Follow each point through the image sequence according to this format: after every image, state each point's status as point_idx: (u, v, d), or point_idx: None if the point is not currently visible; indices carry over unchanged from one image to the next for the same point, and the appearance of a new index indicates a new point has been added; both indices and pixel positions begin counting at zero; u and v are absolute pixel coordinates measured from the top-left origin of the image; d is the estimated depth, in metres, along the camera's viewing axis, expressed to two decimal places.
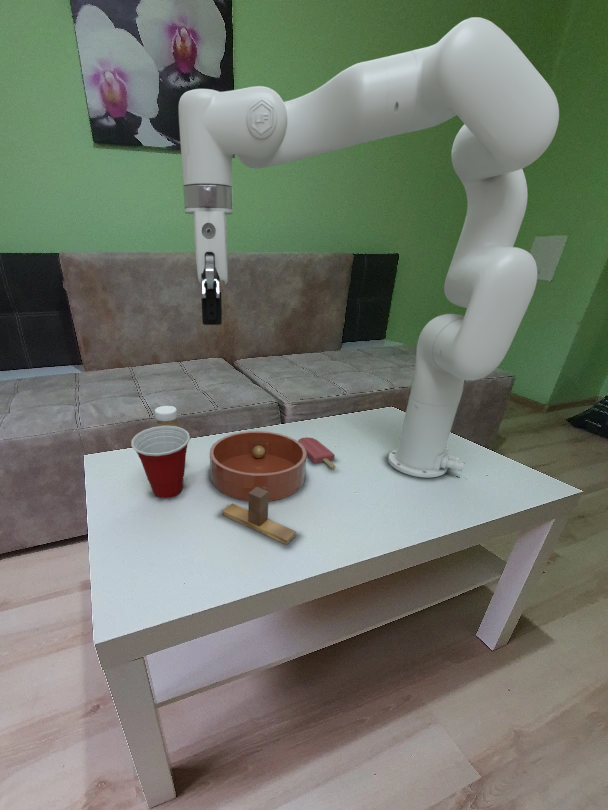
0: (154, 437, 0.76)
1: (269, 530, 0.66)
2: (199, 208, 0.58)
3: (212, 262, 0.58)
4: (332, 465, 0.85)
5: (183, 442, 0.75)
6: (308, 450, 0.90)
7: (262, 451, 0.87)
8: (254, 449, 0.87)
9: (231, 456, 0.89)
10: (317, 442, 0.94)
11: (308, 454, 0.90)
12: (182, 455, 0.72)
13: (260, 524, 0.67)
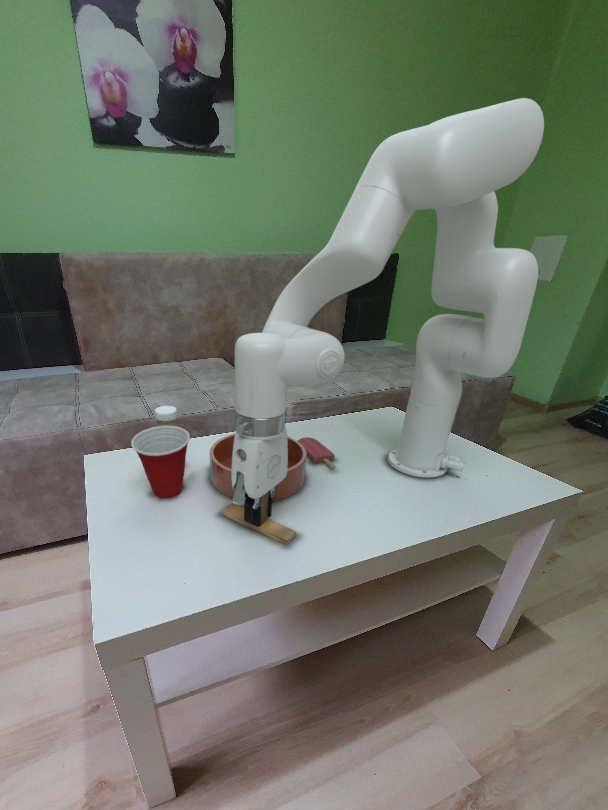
0: (154, 437, 0.76)
1: (269, 530, 0.66)
2: (239, 432, 0.57)
3: (240, 492, 0.59)
4: (332, 465, 0.85)
5: (183, 442, 0.75)
6: (308, 450, 0.90)
7: None
8: None
9: (231, 456, 0.89)
10: (317, 442, 0.94)
11: (308, 454, 0.90)
12: (182, 455, 0.72)
13: None
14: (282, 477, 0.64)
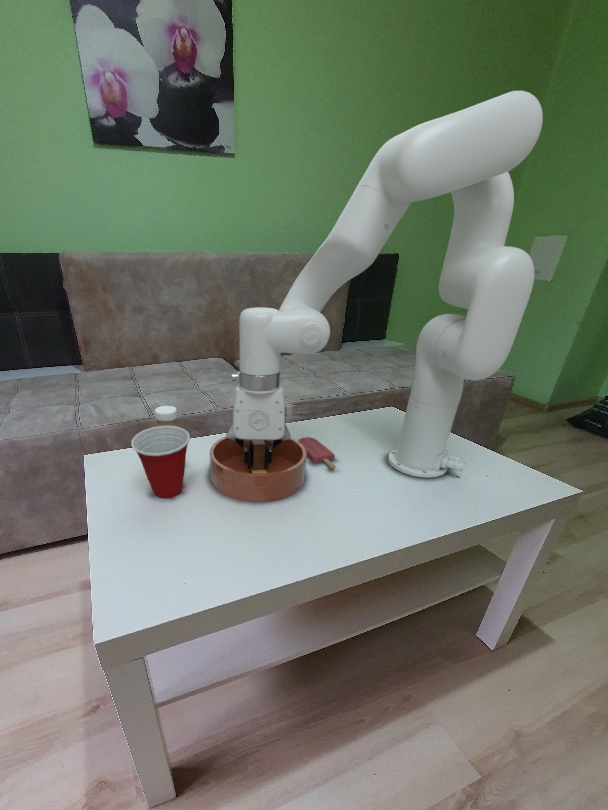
0: (154, 437, 0.76)
1: None
2: None
3: (230, 428, 0.77)
4: (332, 465, 0.85)
5: (183, 442, 0.75)
6: (308, 450, 0.90)
7: None
8: None
9: (231, 456, 0.89)
10: (317, 442, 0.94)
11: (308, 454, 0.90)
12: (182, 455, 0.72)
13: (254, 469, 0.81)
14: (273, 436, 0.75)
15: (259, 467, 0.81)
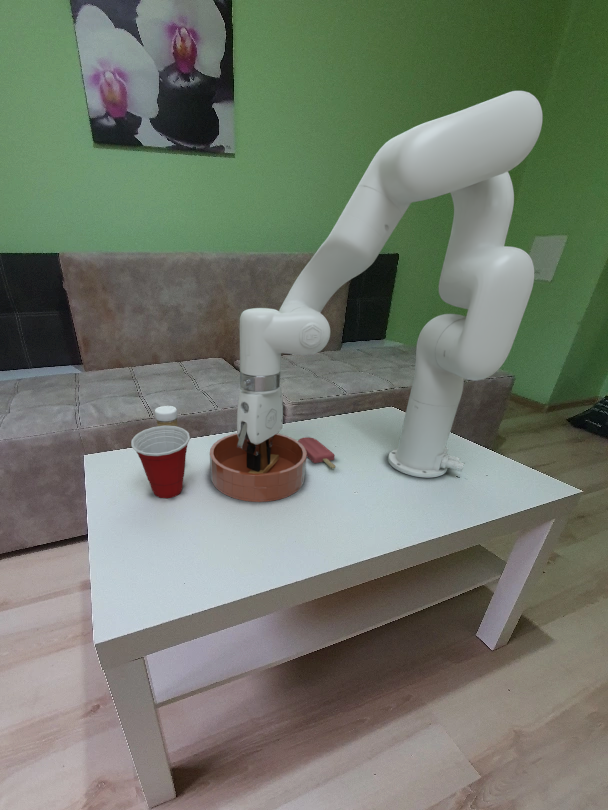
0: (154, 437, 0.76)
1: (270, 461, 0.84)
2: (243, 389, 0.71)
3: (243, 438, 0.73)
4: (332, 465, 0.85)
5: (183, 442, 0.75)
6: (308, 450, 0.90)
7: None
8: None
9: (231, 456, 0.89)
10: (317, 442, 0.94)
11: (308, 454, 0.90)
12: (182, 455, 0.72)
13: None
14: (278, 429, 0.78)
15: None
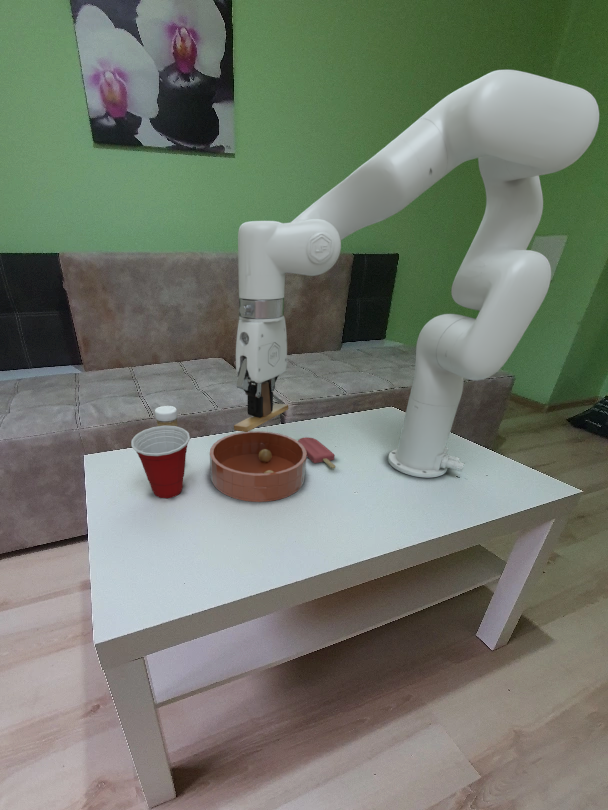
0: (154, 437, 0.76)
1: (276, 410, 0.76)
2: (242, 318, 0.63)
3: (243, 376, 0.66)
4: (332, 465, 0.85)
5: (183, 442, 0.75)
6: (308, 450, 0.90)
7: None
8: (265, 460, 0.86)
9: (231, 456, 0.89)
10: (317, 442, 0.94)
11: (308, 454, 0.90)
12: (182, 455, 0.72)
13: None
14: (282, 370, 0.70)
15: None
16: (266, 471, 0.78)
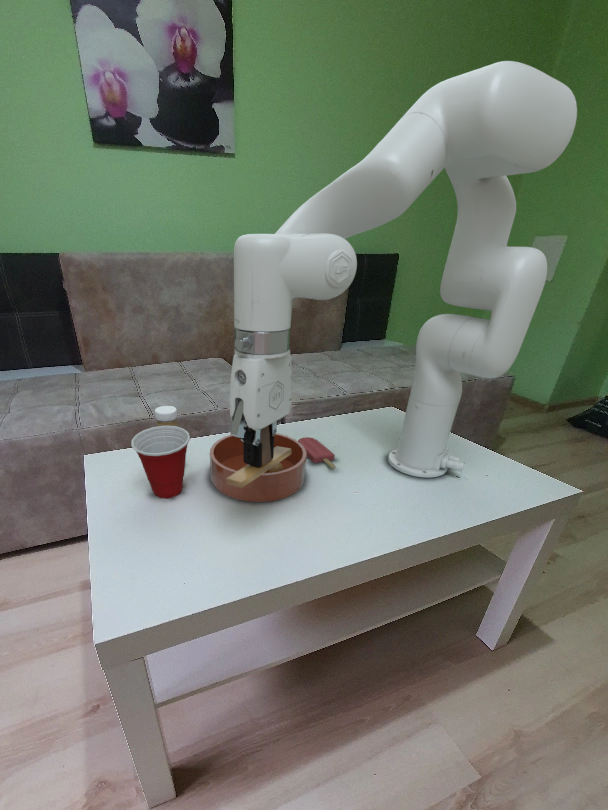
0: (154, 437, 0.76)
1: (277, 456, 0.63)
2: (238, 352, 0.51)
3: (239, 422, 0.53)
4: (332, 465, 0.85)
5: (183, 442, 0.75)
6: (308, 450, 0.90)
7: None
8: None
9: (231, 456, 0.89)
10: (317, 442, 0.94)
11: (308, 454, 0.90)
12: (182, 455, 0.72)
13: None
14: (285, 412, 0.58)
15: None
16: None
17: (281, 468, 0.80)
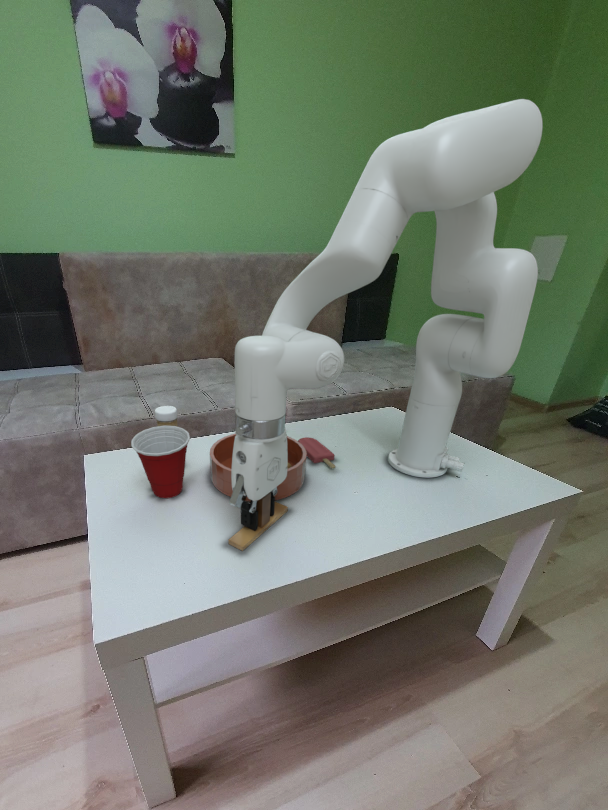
0: (154, 437, 0.76)
1: (274, 515, 0.69)
2: (239, 435, 0.57)
3: (238, 493, 0.59)
4: (332, 465, 0.85)
5: (183, 442, 0.75)
6: (308, 450, 0.90)
7: None
8: None
9: (231, 456, 0.89)
10: (317, 442, 0.94)
11: (308, 454, 0.90)
12: (182, 455, 0.72)
13: None
14: (282, 479, 0.64)
15: None
16: None
17: None
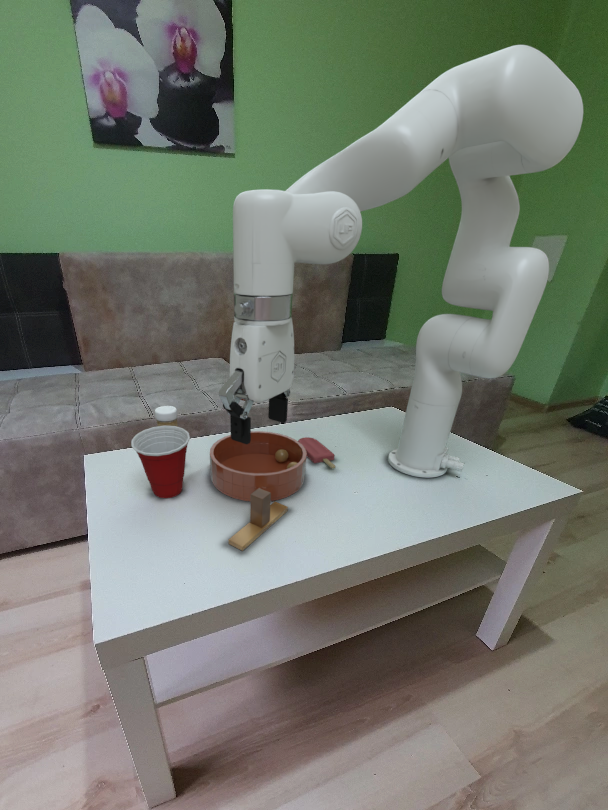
0: (154, 437, 0.76)
1: (274, 515, 0.69)
2: (238, 320, 0.49)
3: (233, 382, 0.49)
4: (332, 465, 0.85)
5: (183, 442, 0.75)
6: (308, 450, 0.90)
7: None
8: (276, 452, 0.87)
9: (231, 456, 0.89)
10: (317, 442, 0.94)
11: (308, 454, 0.90)
12: (182, 455, 0.72)
13: None
14: (288, 385, 0.56)
15: None
16: (291, 462, 0.82)
17: None
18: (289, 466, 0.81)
